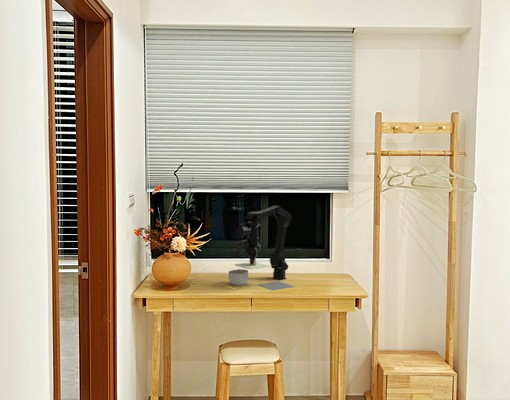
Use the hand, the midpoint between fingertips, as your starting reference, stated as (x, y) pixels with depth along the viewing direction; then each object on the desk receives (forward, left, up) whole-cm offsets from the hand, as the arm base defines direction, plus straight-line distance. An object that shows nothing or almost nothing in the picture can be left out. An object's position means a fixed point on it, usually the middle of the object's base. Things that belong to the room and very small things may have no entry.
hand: (252, 263), depth 319 cm
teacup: (+5, -6, -13) cm, 15 cm away
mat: (-9, +9, -12) cm, 18 cm away
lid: (0, 0, -2) cm, 2 cm away
